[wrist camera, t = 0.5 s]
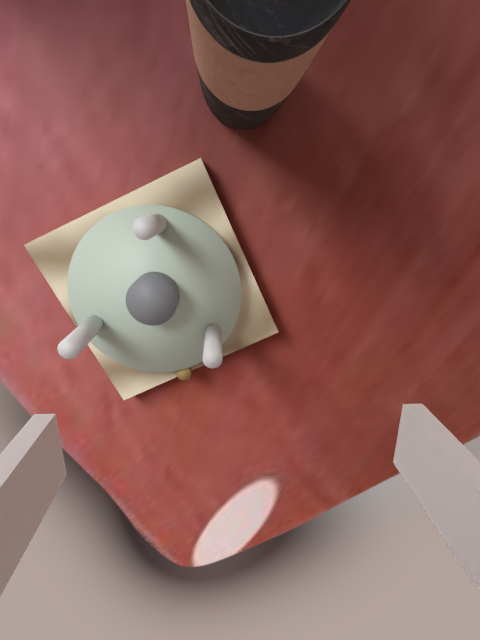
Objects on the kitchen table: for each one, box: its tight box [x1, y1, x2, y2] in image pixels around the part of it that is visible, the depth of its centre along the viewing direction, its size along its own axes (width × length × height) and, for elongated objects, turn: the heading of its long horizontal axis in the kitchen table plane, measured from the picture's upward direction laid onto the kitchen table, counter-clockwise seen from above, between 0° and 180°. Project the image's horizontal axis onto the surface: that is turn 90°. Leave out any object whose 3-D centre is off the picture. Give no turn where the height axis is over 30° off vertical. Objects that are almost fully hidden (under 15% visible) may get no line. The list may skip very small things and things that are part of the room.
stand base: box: [24, 158, 278, 400], centre depth 36 cm, size 18×18×3 cm
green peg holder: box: [58, 205, 242, 372], centre depth 31 cm, size 16×16×8 cm
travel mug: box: [186, 0, 350, 129], centre depth 23 cm, size 8×8×20 cm
